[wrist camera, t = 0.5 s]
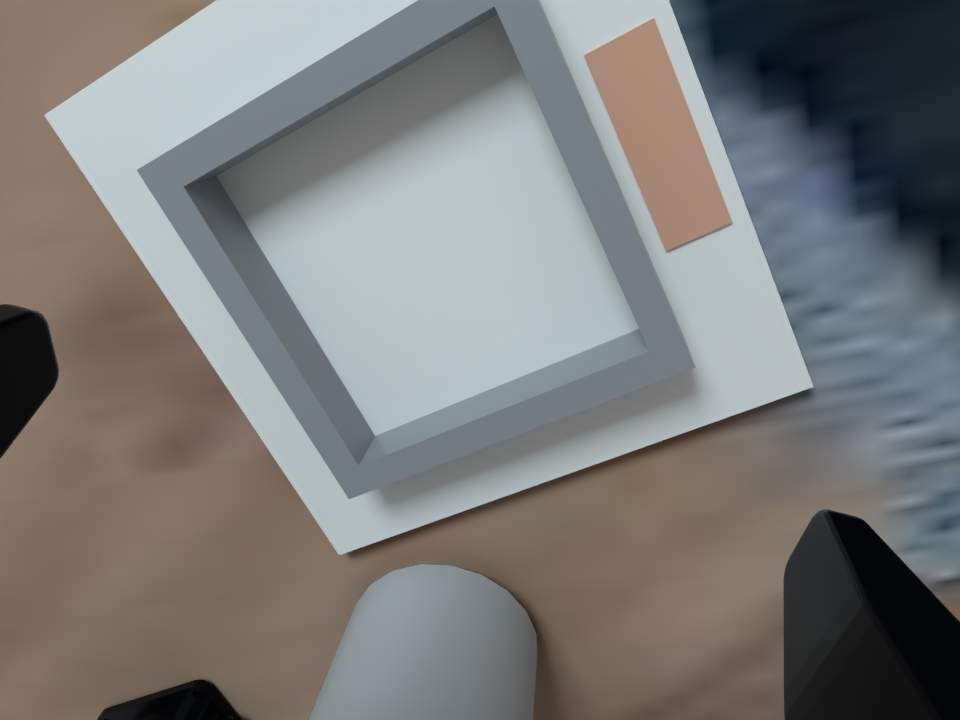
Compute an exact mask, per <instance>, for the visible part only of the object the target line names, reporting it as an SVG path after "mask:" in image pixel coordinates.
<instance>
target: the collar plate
mask: <svg viewBox="0 0 960 720" xmlns="http://www.w3.org/2000/svg"><path fill="white" fill-rule="evenodd" d="M44 116H45V117H46V119H47V120H48V122H49V123H50V125H51V126H52V128H53V129H54V130H55V132H56V133H57V135H58V136H59V138H60V139H61V141H62V142H63V144H64V145H65V147H66V148H67V150H68V151H69V153H70V154H71V156H72V157H73V159H74V160H75V162H76V163H77V165H78V166H79V168H80V169H81V171H82V172H83V174H84V175H85V177H86V178H87V180H88V181H89V183H90V184H91V186H92V187H93V189H94V190H95V192H96V193H97V195H98V196H99V198H100V199H101V201H102V202H103V204H104V205H105V207H106V208H107V210H108V211H109V213H110V214H111V215H112V217H113V218H114V220H115V221H116V223H117V224H118V226H119V227H120V229H121V230H122V232H123V233H124V235H125V236H126V238H127V239H128V241H129V242H130V244H131V245H132V247H133V248H134V250H135V251H136V253H137V254H138V256H139V257H140V259H141V260H142V262H143V263H144V265H145V266H146V268H147V269H148V271H149V272H150V274H151V275H152V277H153V278H154V280H155V281H156V283H157V284H158V286H159V287H160V289H161V290H162V292H163V293H164V295H165V296H166V298H167V299H168V300H169V302H170V303H171V305H172V306H173V308H174V309H175V311H176V312H177V314H178V315H179V317H180V318H181V320H182V321H183V323H184V324H185V326H186V327H187V329H188V330H189V332H190V333H191V335H192V336H193V338H194V339H195V341H196V342H197V344H198V345H199V347H200V348H201V350H202V351H203V353H204V354H205V356H206V357H207V359H208V360H209V362H210V363H211V365H212V366H213V368H214V369H215V371H216V372H217V374H218V375H219V377H220V378H221V380H222V381H223V383H224V384H225V385H226V387H227V388H228V390H229V391H230V393H231V394H232V396H233V397H234V399H235V400H236V402H237V403H238V405H239V406H240V408H241V409H242V411H243V412H244V414H245V415H246V417H247V418H248V420H249V421H250V423H251V424H252V426H253V427H254V429H255V430H256V432H257V433H258V435H259V436H260V438H261V439H262V441H263V442H264V444H265V445H266V447H267V448H268V450H269V451H270V453H271V454H272V456H273V457H274V459H275V460H276V462H277V463H278V465H279V466H280V468H281V469H282V470H283V472H284V473H285V475H286V476H287V478H288V479H289V481H290V482H291V484H292V485H293V487H294V488H295V490H296V491H297V493H298V494H299V496H300V497H301V499H302V500H303V502H304V503H305V505H306V506H307V508H308V509H309V511H310V512H311V514H312V515H313V517H314V518H315V520H316V521H317V523H318V524H319V526H320V527H321V529H322V530H323V532H324V533H325V535H326V536H327V538H328V539H329V541H330V542H331V544H332V545H333V547H334V548H335V550H336V551H337V553H338V554H339V555H341V554H344V553H347V552H350V551H353V550H355V549H358V548H361V547H364V546H367V545H370V544H372V543H375V542H378V541H381V540H384V539H386V538H389V537H392V536H395V535H398V534H401V533H403V532H406V531H409V530H412V529H415V528H417V527H420V526H423V525H426V524H429V523H432V522H434V521H437V520H440V519H443V518H446V517H448V516H451V515H454V514H457V513H460V512H463V511H465V510H468V509H471V508H474V507H477V506H479V505H482V504H485V503H488V502H491V501H494V500H496V499H499V498H502V497H505V496H508V495H510V494H513V493H516V492H519V491H522V490H525V489H527V488H530V487H533V486H536V485H539V484H541V483H544V482H547V481H550V480H553V479H556V478H558V477H561V476H564V475H567V474H570V473H572V472H575V471H578V470H581V469H584V468H587V467H589V466H592V465H595V464H598V463H601V462H603V461H606V460H609V459H612V458H615V457H618V456H620V455H623V454H626V453H629V452H632V451H634V450H637V449H640V448H643V447H646V446H648V445H651V444H654V443H657V442H660V441H663V440H665V439H668V438H671V437H674V436H677V435H679V434H682V433H685V432H688V431H691V430H694V429H696V428H699V427H702V426H705V425H708V424H710V423H713V422H716V421H719V420H722V419H725V418H727V417H730V416H733V415H736V414H739V413H741V412H744V411H747V410H750V409H753V408H756V407H758V406H761V405H764V404H767V403H770V402H772V401H775V400H778V399H781V398H784V397H787V396H789V395H792V394H795V393H798V392H801V391H803V390H806V389H809V388H812V387H813V384H812V382H811V379H810V376H809V373H808V371H807V368H806V365H805V363H804V360H803V357H802V355H801V352H800V349H799V347H798V344H797V341H796V339H795V336H794V333H793V331H792V328H791V325H790V323H789V320H788V317H787V315H786V312H785V309H784V307H783V304H782V301H781V299H780V296H779V293H778V291H777V288H776V285H775V283H774V280H773V277H772V275H771V272H770V269H769V267H768V264H767V261H766V259H765V256H764V253H763V251H762V248H761V245H760V243H759V240H758V237H757V235H756V232H755V229H754V227H753V224H752V221H751V219H750V216H749V213H748V211H747V208H746V205H745V202H744V200H743V197H742V194H741V192H740V189H739V186H738V184H737V181H736V178H735V176H734V173H733V170H732V168H731V165H730V162H729V160H728V157H727V154H726V152H725V149H724V146H723V144H722V141H721V138H720V136H719V133H718V130H717V128H716V125H715V122H714V120H713V117H712V114H711V112H710V109H709V106H708V104H707V101H706V98H705V96H704V93H703V90H702V88H701V85H700V82H699V80H698V77H697V74H696V72H695V69H694V66H693V64H692V61H691V58H690V56H689V53H688V50H687V48H686V45H685V42H684V40H683V37H682V34H681V32H680V29H679V26H678V23H677V21H676V18H675V15H674V13H673V10H672V7H671V5H670V2H669V0H216V1H215V2H213V3H212V4H210V5H209V6H207V7H206V8H204V9H203V10H201V11H200V12H198V13H197V14H195V15H194V16H192V17H191V18H189V19H188V20H186V21H185V22H183V23H182V24H180V25H179V26H177V27H176V28H174V29H173V30H171V31H170V32H168V33H167V34H165V35H164V36H162V37H161V38H159V39H158V40H156V41H155V42H153V43H152V44H150V45H149V46H147V47H146V48H144V49H143V50H141V51H140V52H138V53H137V54H135V55H134V56H132V57H131V58H129V59H128V60H126V61H125V62H123V63H122V64H120V65H119V66H117V67H116V68H114V69H113V70H111V71H110V72H108V73H107V74H105V75H104V76H102V77H101V78H99V79H98V80H96V81H95V82H93V83H92V84H90V85H89V86H87V87H86V88H84V89H83V90H81V91H80V92H78V93H77V94H75V95H74V96H72V97H71V98H69V99H68V100H66V101H65V102H63V103H62V104H60V105H59V106H57V107H56V108H54V109H53V110H51V111H50V112H48V113H47V114H45V115H44Z"/></svg>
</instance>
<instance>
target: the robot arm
mask: <svg viewBox="0 0 960 720" xmlns="http://www.w3.org/2000/svg"><path fill="white" fill-rule="evenodd" d="M58 374H59V368H58V363H57V359H56V355H55V350H54V346H53V342H52V338H51V334H50V329H49V325H48V322H47V320H46V319H45V317H44V316H43V315H42V314H41V313H39V312H37V311H35V310H31V309H27V308H23V307H19V306H15V305H9V304H3V305H0V458H1V457H2V456H3V455H4V453H5V452H6V451H7V449H8V448H9V447H10V445H11V444H12V443H13V441H14V440H15V439H16V437H17V436H18V435H19V434H20V432H21V431H22V430H23V428H24V427H25V426H26V424H27V423H28V422H29V420H30V419H31V418H32V416H33V415H34V414H35V413H36V411H37V410H38V409H39V407H40V406H41V405H42V403H43V402H44V401H45V399H46V398H47V397H48V395H49V394H50V393H51V391H52V390H53V388H54V387H55V385H56V382H57V379H58ZM784 710H785V720H960V622H959V621H958V620H957V618H956V617H955V616H954V615H953V614H952V613H951V612H950V611H949V610H948V609H947V608H946V607H945V606H944V605H943V604H942V603H941V601H940V600H939V599H938V598H937V597H936V596H935V595H934V594H933V593H932V592H931V591H930V590H929V589H928V588H927V587H926V586H925V584H924V583H923V582H922V581H921V580H920V579H919V578H918V577H917V576H916V575H915V574H914V573H913V572H912V571H911V570H910V569H909V567H908V566H907V565H906V564H905V563H904V562H903V561H902V560H901V559H900V558H899V557H898V556H897V555H896V554H895V553H894V552H893V550H892V549H891V548H890V547H889V546H888V545H887V544H886V543H885V542H884V541H883V540H882V539H881V538H880V537H879V536H878V535H877V533H876V532H875V531H874V530H873V529H872V528H871V527H870V526H869V525H868V524H867V523H866V522H865V521H864V520H862V519H860V518H858V517H855V516H851V515H847V514H843V513H839V512H835V511H831V510H826V509H825V510H821V511H818V512H817V513H816V514H815V515H814V516H813V518H812V519H811V521H810V523H809V524H808V526H807V528H806V530H805V531H804V533H803V535H802V537H801V538H800V540H799V542H798V544H797V545H796V547H795V549H794V551H793V552H792V554H791V556H790V558H789V560H788V562H787V565H786V569H785V573H784ZM97 720H238V718H237V717H236V716H235V715H234V713H233V712H232V711H231V710H230V708H229V707H228V706H227V705H226V703H225V702H224V701H223V700H222V698H221V697H220V696H219V695H218V693H217V692H216V691H215V690H214V688H213V687H212V686H211V685H210V684H209V683H208V682H206V681H204V680H194V681H191V682H188V683H185V684H182V685H179V686H175V687H172V688H169V689H166V690H163V691H160V692H156V693H153V694H150V695H147V696H144V697H141V698H137V699H134V700H131V701H128V702H125V703H122V704H118V705H115V706H112V707H109V708H106V709H104V710H103V712H102V713H101V714H100V716H99V717H98V719H97Z"/></svg>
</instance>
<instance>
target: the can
mask: <svg viewBox="0 0 960 720" xmlns="http://www.w3.org/2000/svg"><path fill="white" fill-rule="evenodd" d="M536 669H537V634H536V632H535V629H534V627H533V625H532V623H531V620H530V618H529V616H528V614H527V612H526V610H525V609H524V608H523V607H522V606H521V605H520V604H519V603H518V602H517V600H516V599H515V598H514V597H513V596H512V595H511V594H510V593H509V592H508V591H507V590H506V589H504V588H502V587H501V586H499V585H497V584H496V583H494V582H493V581H491V580H489V579H488V578H486V577H484V576H483V575H481V574H477V573H474V572H471V571H467V570H464V569H461V568H457V567H454V566H448V565H423V564H420V565H416V566H412V567H407V568H403V569H399V570H395V571H392V572H390V573H389V574H387V575H385V576H384V577H382V578H380V579H379V580H377V581H375V582H374V583H372V584H371V585H370V586H369V587H368V589H367V590H366V591H365V593H364V594H363V595H362V596H361V598H360V599H359V600H358V602H357V603H356V606H355V608H354V610H353V613H352V615H351V618H350V620H349V623H348V625H347V628H346V630H345V632H344V635H343V637H342V640H341V642H340V645H339V647H338V649H337V652H336V654H335V657H334V659H333V662H332V664H331V666H330V669H329V671H328V674H327V676H326V679H325V681H324V683H323V686H322V688H321V691H320V693H319V696H318V698H317V700H316V703H315V705H314V708H313V710H312V713H311V715H310V718H309V720H533V711H534V697H535V683H536Z"/></svg>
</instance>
